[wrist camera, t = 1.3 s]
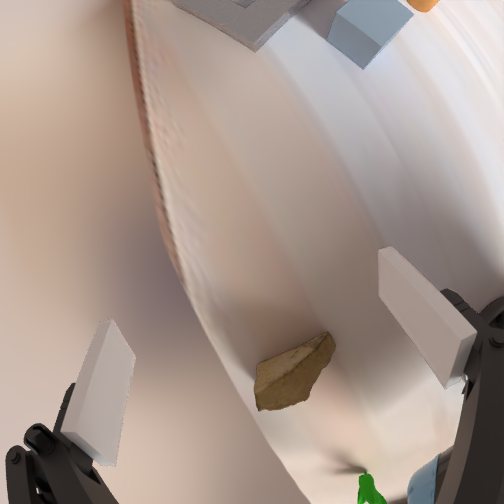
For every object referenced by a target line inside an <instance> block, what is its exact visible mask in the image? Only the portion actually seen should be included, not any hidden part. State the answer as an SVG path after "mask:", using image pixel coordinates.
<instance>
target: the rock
mask: <svg viewBox="0 0 504 504" xmlns="http://www.w3.org/2000/svg"><path fill="white" fill-rule="evenodd" d="M335 347H336V345H335V343H334V341H333V339H332V337H331V336H330V334H329V333H328V332H325V333H323V334H321V335H319V336H317V337H316V338H314V339H312V340H311V341H308V342H306V343H304V344H302V345H300V346H299V347H297V348H294V349H292V350H288V351H286V352H284V353H282V354H279V355H276V356H275V357H273V358H271V359H270V360H266V361H263V362H261V363H260V364H258V365H257V380H256V381H255V384H254V394H255V399H256V406H257V408H258V411H262V410H264V409H267V410H269V411H272V410H280V409H283V408H286V407H289V406H290V405H295V404H296V403H299V402H302V401H306V400H307V399H308V398H309V396H310V391H311V389H312V386H313V384H314V383H315V382H316V380H317V378H318V376H319V375H320V373H321V370H322V369H323V368H324V367H326V366H327V365H328V363H329V362H330V359H331V355H332V353H333V352H334V350H335Z"/></svg>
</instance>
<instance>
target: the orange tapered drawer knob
mask: <svg viewBox="0 0 504 504" xmlns="http://www.w3.org/2000/svg"><path fill="white" fill-rule="evenodd" d="M407 1H408V2H409V4H410V5H411V6H412V7H413V8H415V9H416V10H418V11H421V12H428V11H430V10H431V9H432V8H433V7H434V6H435V5H436V4H437V3H438V2H439V1H440V0H407Z"/></svg>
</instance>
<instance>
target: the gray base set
mask: <svg viewBox="0 0 504 504" xmlns="http://www.w3.org/2000/svg"><path fill="white" fill-rule="evenodd" d="M172 1H173V2H174V4H175V5H176V6H177V7H179V8H181V9H183V10H185V11H187V12H189V13H191V14H192V15H194V16H196V17H198V18H200V19H202V20H203V21H205V22H207V23H209V24H211V25H212V26H214V27H216V28H217V29H219V30H221V31H223V32H224V33H226V34H228V35H229V36H231V37H232V38H234V39H236V40H237V41H239V42H240V43H242V44H244V45H245V46H247V47H248V48H250V49H251V50H253V51H254V52H256V51H257V50H258V49H259V48H260V47H261V46H262V45H263V44H264V43H265V42H266V41H267V40H268V39H269V38H270V37H271V36H272V35H273V34H274V33H275V32H276V31H277V30H278V29H279V28H281V27H282V26H283V25H284V24H285V23H286V22H287V21H288V20H289V19H290V18H291V17H292V16H293V15H294V14H296V13H297V12H298V11H299V10H300V9H301V8H302V7H303V6H305V5H306V4H307V3H308V2H309V1H310V0H255V1H253V2H252V3H251V4H250V5H249V6H248V7H247V8H244V7H242V6H240V5H238V4H237V3H235V2H233V1H231V0H172Z"/></svg>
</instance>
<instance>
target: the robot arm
mask: <svg viewBox="0 0 504 504" xmlns="http://www.w3.org/2000/svg"><path fill="white" fill-rule="evenodd" d="M378 282H379V297H380V299H381V300H382V301H383V303H384V304H385V305H386V307H387V308H388V309H389V311H390V312H391V313H392V315H393V316H394V317H395V319H396V320H397V321H398V323H399V324H400V325H401V327H402V328H403V330H404V331H405V332H406V334H407V335H408V336H409V338H410V339H411V341H412V342H413V343H414V345H415V346H416V348H417V349H418V351H419V352H420V353H421V355H422V356H423V358H424V359H425V361H426V362H427V363H428V365H429V366H430V368H431V369H432V371H433V372H434V374H435V375H436V377H437V378H438V380H439V381H440V383H441V384H442V386H443V387H444V389H446V388H448V387H450V386H452V385H454V384H456V383H458V382H459V381H460V380H461V378H462V380H463V381H464V382H465V386H464V389H463V391H462V394H464V393H465V394H464V400H463V406H462V411H461V416H460V421H459V426H458V430H457V435H456V439H455V443H454V445H453V446H451V447H450V448H449V449H447V450H446V451H444V452H443V453H440V454H438V455H437V456H436V457H435V459H433V460H432V461H430V462H429V463H427V464H426V465H425V466H423V467H422V468H420V469H419V470H417V471H416V472H415V473H414V474H413V476H412V477H411V479H410V482H409V485H408V492H407V496H408V498H407V501H408V504H504V296H503V297H501V298H499V299H497V300H495V301H494V302H493V303H491V304H490V305H489V306H487V307H486V308H485V309H484V310H483V311H482V312H481V313H480V314H479V315H478V314H477V313H476V312H475V311H474V310H473V309H472V308H470V306H469V305H468V304H467V303H466V302H464V300H463V299H462V298H461V297H460V296H459V295H458V294H457V293H455V292H453V291H451V290H449V289H444V290H442V291H440V292H439V291H438V290H437V289H436V288H435V287H434V286H433V285H432V284H431V283H430V282H429V281H428V280H427V279H426V278H425V277H424V276H423V275H422V274H421V273H420V272H419V271H418V270H417V269H416V268H415V267H414V266H413V265H412V264H411V263H410V262H408V261H407V260H406V259H405V258H404V257H403V256H402V255H401V254H400V253H399V252H398V251H397V250H395V249H394V248H393V247H392V246H389V247H386V248H382V249H379V250H378ZM135 360H136V356H135V355H134V353H133V352H132V350H131V349H130V347H129V345H128V344H127V342H126V340H125V339H124V337H123V336H122V334H121V332H120V331H119V329H118V327H117V325H116V324H115V322H114V320H113V319H108V320H103V321H100V322H99V325H98V327H97V330H96V332H95V334H94V337H93V340H92V342H91V344H90V347H89V349H88V352H87V355H86V357H85V360H84V362H83V365H82V368H81V371H80V373H79V376H78V379H77V382H76V383H72V384H71V385H70V387H69V388H68V390H67V391H66V393H65V396H64V399H63V403H62V405H61V407H60V408H61V410H59V414H58V417H57V420H56V423H55V426H54V429H53V432H51V431H50V430H49V429H48V428H47V427H46V426H44V425H43V424H41V423H37V424H34V425H32V426H31V427H30V428H29V429H28V430H27V431H26V433H25V436H24V444H25V445H26V446H27V447H28V448H29V449H31V450H30V451H26V450H25V449H24V448H23V447H21V446H19V445H16V446H14V447H12V448H10V450H9V451H8V453H7V455H6V460H5V462H6V480H7V491H8V500H9V504H119V503H118V502H117V500H116V499H115V498H114V496H113V495H112V493H111V492H110V491H109V489H108V487H107V486H106V484H105V483H104V481H103V480H102V478H101V477H100V475H99V474H98V472H97V470H96V469H95V468H94V467H93V466H92V463H93V460H94V461H96V462H97V463H98V464H100V465H101V466H116V463H117V455H118V449H119V443H120V437H121V431H122V425H123V419H124V414H125V408H126V403H127V398H128V393H129V388H130V383H131V378H132V374H133V369H134V365H135ZM36 488H38V491H39V494H38V493H37V490H36Z"/></svg>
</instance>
